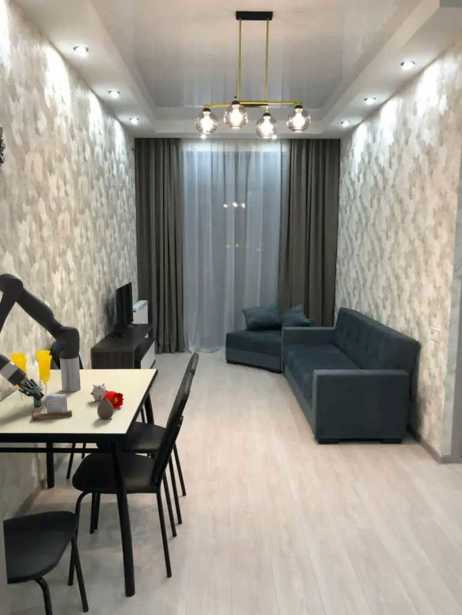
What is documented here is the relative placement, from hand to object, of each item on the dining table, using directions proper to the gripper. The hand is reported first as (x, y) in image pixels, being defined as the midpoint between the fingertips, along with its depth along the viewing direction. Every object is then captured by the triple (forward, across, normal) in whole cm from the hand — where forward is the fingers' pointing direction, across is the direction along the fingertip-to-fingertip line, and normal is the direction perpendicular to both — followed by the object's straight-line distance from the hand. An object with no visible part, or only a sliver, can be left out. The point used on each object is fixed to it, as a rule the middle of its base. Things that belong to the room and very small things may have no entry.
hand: (41, 398), depth 232 cm
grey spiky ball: (+21, +9, -14) cm, 27 cm away
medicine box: (+10, -8, -3) cm, 13 cm away
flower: (+27, -1, -19) cm, 33 cm away
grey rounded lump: (+27, -16, -19) cm, 36 cm away
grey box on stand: (+8, -5, -1) cm, 10 cm away
